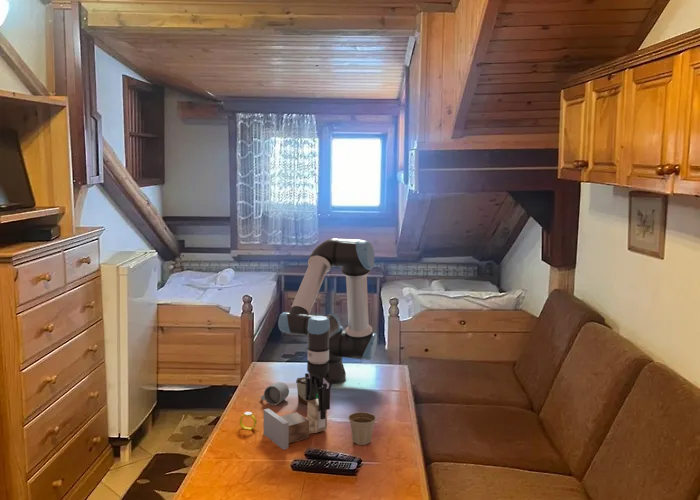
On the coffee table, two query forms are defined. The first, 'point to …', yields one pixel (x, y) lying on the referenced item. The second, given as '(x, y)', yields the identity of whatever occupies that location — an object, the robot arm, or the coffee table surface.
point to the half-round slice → (302, 391)
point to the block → (297, 427)
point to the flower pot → (361, 427)
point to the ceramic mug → (275, 393)
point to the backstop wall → (276, 429)
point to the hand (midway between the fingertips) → (317, 424)
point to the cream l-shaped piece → (314, 417)
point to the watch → (248, 416)
